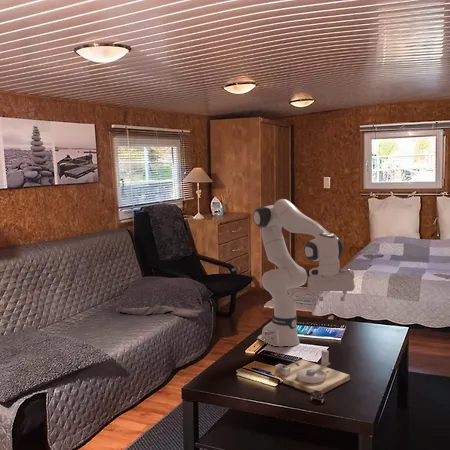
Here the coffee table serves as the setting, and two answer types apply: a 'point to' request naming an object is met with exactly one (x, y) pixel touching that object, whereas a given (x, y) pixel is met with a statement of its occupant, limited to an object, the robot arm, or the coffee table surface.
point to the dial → (314, 370)
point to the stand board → (289, 377)
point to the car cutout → (317, 395)
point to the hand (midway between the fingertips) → (331, 300)
